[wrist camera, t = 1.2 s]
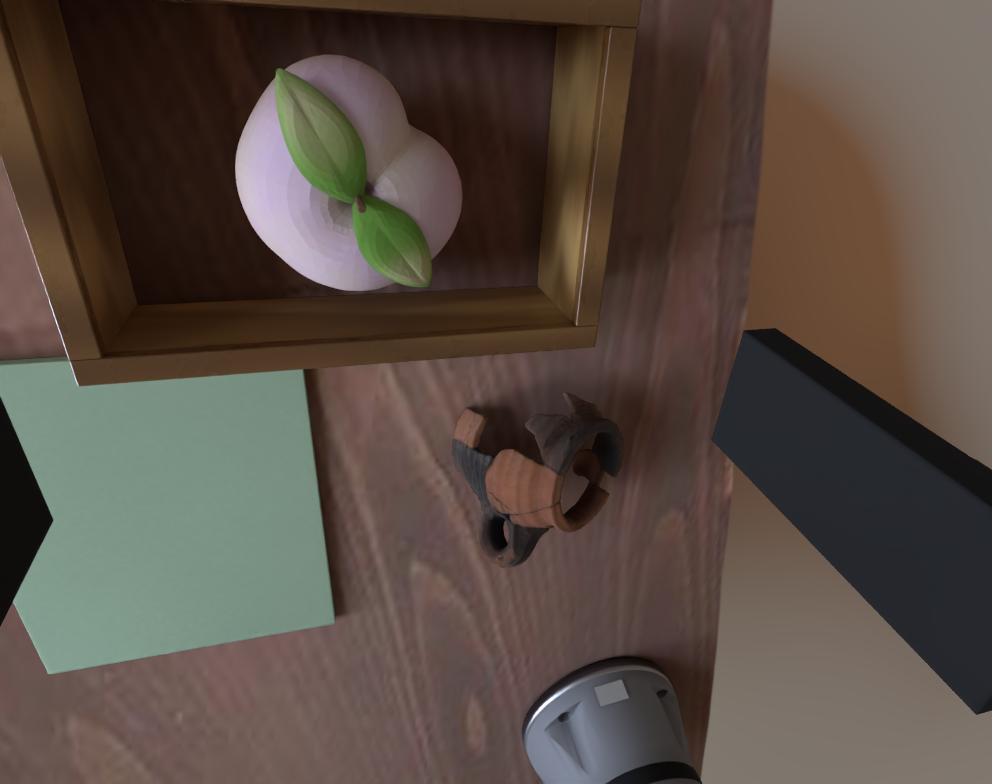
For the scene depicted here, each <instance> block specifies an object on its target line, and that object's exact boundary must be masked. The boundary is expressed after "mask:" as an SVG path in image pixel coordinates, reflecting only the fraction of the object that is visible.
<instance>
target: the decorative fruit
mask: <svg viewBox="0 0 992 784" xmlns="http://www.w3.org/2000/svg"><path fill="white" fill-rule="evenodd" d="M235 176H236V184H237V189H238V193H239V197H240V200H241V203H242V206H243V208H244V211H245V213H246V215H247V217H248V219H249V221H250V223H251V225H252V226H253V228H254V230H255V231H256V232H257V234H258V235H259V236H260V238H261V239H262V240H263V241H264V242H265V244H266V245H267V246H268V247H269V248H270V249H272V250H273V251H274V252H275V253H276V254H277V255H278V256H279V257H280V258H282V259H283V260H284V261H285V262H286V263H287V264H289V265H290V266H291V267H292V268H293V269H295V270H296V271H297V272H299V273H300V274H302V275H303V276H305V277H307V278H309V279H311V280H313V281H315V282H317V283H320V284H323V285H326V286H329V287H332V288H337V289H341V290H348V291H368V290H375V289H379V288H383V287H386V286H388V285H390V284H393V283H395V282H397V283H400V284H403V285H406V286H411V287H429V286H430V283H431V278H432V259H433V258H434V257H435V256H436V255H437V254H438V253H439V252H440V251H441V250H442V248H443V247H444V246H445V244H446V243H447V241H448V240H449V238H450V237H451V235H452V233H453V231H454V229H455V227H456V225H457V222H458V219H459V216H460V213H461V206H462V197H463V196H462V186H461V180H460V177H459V174H458V171H457V168H456V166H455V164H454V162H453V160H452V158H451V156H450V155H449V154H448V152H447V151H446V149H445V148H444V147H443V146H442V145H440V144H439V143H438V142H437V141H436V140H435V139H433V138H432V137H430V136H429V135H428V134H426V133H424V132H422V131H420V130H418V129H416V128H414V127H413V126H411V125H410V124H409V123H408V121H407V117H406V113H405V110H404V107H403V104H402V101H401V99H400V96H399V95H398V93H397V92H396V90H395V89H394V87H393V85H392V84H391V83H390V82H389V81H388V80H387V79H386V78H385V77H384V76H383V75H382V74H380V73H379V72H378V71H376V70H375V69H373V68H372V67H370V66H368V65H366V64H364V63H363V62H361V61H359V60H356V59H353V58H350V57H346V56H343V55H329V54H326V55H320V56H313V57H310V58H307V59H303V60H301V61H299V62H296V63H294V64H292V65H290V66H289V67H287V68H286V69H285V70H284V69H282V68H278V69H277V70H276V77H275V78H274V79H273V80H272V82H271V83H270V84H269V86H268V87H267V88H266V90H265V91H264V93H263V94H262V96H261V97H260V99H259V100H258V102H257V104H256V106H255V107H254V109H253V111H252V113H251V115H250V117H249V119H248V121H247V123H246V125H245V127H244V130H243V132H242V135H241V138H240V140H239V143H238V148H237V153H236V162H235Z"/></svg>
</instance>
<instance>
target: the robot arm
mask: <svg viewBox="0 0 992 784" xmlns="http://www.w3.org/2000/svg"><path fill="white" fill-rule="evenodd" d="M712 441H713V442H714V443H715V444H716V445H717V446H718V447H719V448H720V449H721V450H722V451H723V452H724V453H725V454H726V455H727V456H728V457H729V459H730V460H731V461H732V462H733V463H734V464H735V465H736V466H737V467H738V468H739V469H740V470H741V471H742V472H743V473H744V474H745V475H746V476H747V477H748V478H749V479H750V480H751V481H752V482H753V483H754V484H755V485H756V486H757V488H758V489H759V490H760V491H761V492H762V493H763V494H764V495H765V496H766V497H767V498H768V499H769V500H770V501H771V502H772V503H773V504H774V505H775V506H776V507H777V508H778V509H779V510H780V511H781V512H782V513H783V515H784V516H785V517H786V518H787V519H788V520H789V521H790V522H791V523H792V524H793V525H794V526H795V527H796V528H797V529H798V530H799V531H800V532H801V533H802V534H803V535H804V536H805V537H806V538H807V539H808V541H810V543H811V544H812V545H813V546H814V547H815V548H816V549H817V550H818V551H819V552H820V553H821V554H822V555H823V556H824V557H825V558H826V559H827V560H828V561H829V562H830V563H831V564H832V565H833V566H834V567H835V569H836V570H837V571H838V572H839V573H840V574H841V575H842V576H843V577H844V578H845V579H846V580H847V581H848V582H849V583H850V584H851V585H852V586H853V587H854V588H855V589H856V590H857V591H858V592H859V593H860V595H862V597H863V598H864V599H865V600H866V601H867V602H868V603H869V604H870V605H871V606H872V607H873V608H874V609H875V610H876V611H877V612H878V613H879V614H880V615H881V616H882V617H883V618H884V619H885V620H886V621H887V623H889V624H890V625H891V626H892V628H893V629H894V630H895V631H896V632H897V633H898V634H899V635H900V636H901V637H902V638H903V639H904V640H905V641H906V642H907V643H908V644H909V645H910V646H911V647H912V648H913V650H914V651H915V652H916V653H917V654H918V655H919V656H920V657H921V658H922V659H923V660H924V661H925V662H926V663H927V664H928V665H929V666H930V667H931V668H932V669H933V670H934V671H935V672H936V673H937V674H938V675H939V677H940V678H941V679H943V681H944V682H945V683H946V684H947V685H948V686H949V687H950V688H951V689H952V690H953V691H954V692H955V693H956V694H957V695H958V696H959V697H960V698H961V699H962V700H963V701H964V702H965V704H966V705H967V706H968V707H969V708H970V709H971V710H972V711H973V712H974V713H975V714H976V715H977V714H981V713H984V712H988V711H991V710H992V470H991V469H990V468H988V467H987V466H985V465H984V464H982V463H980V462H979V461H977V460H975V459H973V458H971V457H970V456H968V455H967V454H965V453H964V452H962V451H960V450H959V449H957V448H956V447H954V446H953V445H951V444H950V443H948V442H947V441H945V440H944V439H942V438H941V437H939V436H938V435H936V434H935V433H933V432H932V431H930V430H929V429H927V428H926V427H924V426H923V425H921V424H920V423H918V422H917V421H915V420H913V419H912V418H911V417H909V416H908V415H906V414H904V413H903V412H901V411H900V410H898V409H897V408H895V407H894V406H892V405H891V404H889V403H888V402H886V401H885V400H883V399H882V398H880V397H878V396H877V395H876V394H874V393H873V392H871V391H870V390H868V389H867V388H865V387H864V386H862V385H861V384H859V383H858V382H856V381H854V380H853V379H851V378H850V377H848V376H847V375H845V374H844V373H842V372H841V371H839V370H838V369H836V368H835V367H833V366H832V365H830V364H829V363H827V362H826V361H824V360H823V359H821V358H820V357H818V356H816V355H815V354H813V353H812V352H811V351H809V350H807V349H806V348H804V347H803V346H801V345H800V344H798V343H797V342H795V341H794V340H792V339H791V338H789V337H788V336H786V335H785V334H783V333H782V332H780V331H779V330H777V329H775V328H773V329H758V330H744V332H743V335H742V338H741V342H740V345H739V348H738V352H737V355H736V359H735V362H734V365H733V369H732V372H731V375H730V379H729V382H728V386H727V389H726V392H725V396H724V399H723V402H722V406H721V409H720V413H719V416H718V419H717V423H716V426H715V429H714V433H713V436H712ZM52 522H53V517H52V515H51V513H50V510H49V508H48V506H47V504H46V501H45V499H44V497H43V494H42V492H41V490H40V487H39V485H38V483H37V480H36V478H35V476H34V473H33V471H32V469H31V466H30V464H29V462H28V459H27V457H26V455H25V452H24V450H23V448H22V445H21V443H20V441H19V438H18V436H17V434H16V431H15V429H14V427H13V424H12V422H11V420H10V417H9V415H8V413H7V411H6V408H5V406H4V404H3V401H2V399H1V397H0V626H1V624H2V622H3V620H4V618H5V616H6V614H7V612H8V610H9V608H10V606H11V604H12V602H13V600H14V598H15V596H16V594H17V592H18V590H19V588H20V586H21V584H22V582H23V580H24V578H25V576H26V574H27V572H28V570H29V568H30V566H31V564H32V562H33V560H34V558H35V556H36V554H37V552H38V550H39V548H40V546H41V544H42V542H43V540H44V538H45V536H46V534H47V532H48V530H49V528H50V526H51V524H52ZM522 739H523V743H524V746H525V749H526V753H527V755H528V757H529V759H530V762H531V764H532V766H533V768H534V769H535V771H536V772H537V774H538V775H539V777H540V778H541V779H542V781H543V782H544V784H702V782H701V780H700V778H699V776H698V774H697V772H696V770H695V769H694V767H693V765H692V762H691V759H690V755H689V750H688V746H687V741H686V736H685V732H684V727H683V723H682V718H681V713H680V709H679V704H678V700H677V697H676V694H675V692H674V689H673V687H672V685H671V683H670V681H669V679H668V678H667V676H666V674H665V673H664V671H663V670H662V669H661V668H660V667H659V666H657V665H656V664H654V663H652V662H650V661H647V660H643V659H637V658H619V659H612V660H607V661H602V662H599V663H595V664H592V665H589V666H587V667H584V668H582V669H580V670H578V671H576V672H574V673H572V674H570V675H568V676H566V677H565V678H563V679H561V680H560V681H558V682H557V683H556V684H554V685H553V686H552V687H550V688H549V689H548V690H547V691H546V692H544V693H543V694H542V695H541V696H540V697H539V698H538V700H537V701H536V702H535V703H534V704H533V706H532V707H531V708H530V710H529V712H528V713H527V715H526V717H525V720H524V723H523V726H522Z"/></svg>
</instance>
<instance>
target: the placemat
mask: <svg viewBox="0 0 992 784" xmlns="http://www.w3.org/2000/svg"><path fill="white" fill-rule="evenodd" d="M0 397H1V399H2V401H3V404H4V406H5V408H6V411H7V413H8V415H9V417H10V420H11V422H12V424H13V427H14V429H15V431H16V434H17V436H18V438H19V441H20V443H21V445H22V448H23V450H24V452H25V455H26V457H27V459H28V462H29V464H30V466H31V469H32V471H33V473H34V476H35V478H36V480H37V483H38V485H39V487H40V490H41V492H42V494H43V497H44V499H45V501H46V504H47V506H48V508H49V510H50V513H51V515H52V517H53V522H52V524H51V526H50V528H49V530H48V532H47V534H46V536H45V538H44V540H43V542H42V544H41V546H40V548H39V550H38V552H37V554H36V556H35V558H34V560H33V562H32V564H31V566H30V568H29V570H28V572H27V574H26V576H25V578H24V580H23V582H22V584H21V586H20V588H19V590H18V592H17V594H16V596H15V598H14V600H13V603H14V605H15V607H16V609H17V611H18V613H19V615H20V617H21V619H22V621H23V623H24V625H25V627H26V629H27V631H28V633H29V635H30V637H31V639H32V641H33V643H34V645H35V647H36V649H37V651H38V653H39V655H40V658H41V660H42V662H43V664H44V666H45V668H46V670H47V672H48V674H54V673H60V672H66V671H71V670H77V669H83V668H88V667H94V666H99V665H105V664H111V663H116V662H122V661H128V660H133V659H139V658H144V657H150V656H156V655H161V654H167V653H172V652H178V651H184V650H189V649H195V648H201V647H206V646H212V645H217V644H223V643H229V642H234V641H240V640H246V639H251V638H257V637H262V636H268V635H274V634H279V633H285V632H291V631H296V630H302V629H307V628H313V627H319V626H324V625H330V624H335V622H336V621H335V611H334V603H333V595H332V587H331V579H330V571H329V563H328V555H327V547H326V539H325V531H324V523H323V516H322V508H321V500H320V492H319V484H318V476H317V468H316V460H315V452H314V444H313V436H312V428H311V420H310V412H309V404H308V397H307V389H306V381H305V373H304V369H300V370H287V371H274V372H261V373H248V374H235V375H222V376H209V377H196V378H183V379H170V380H157V381H144V382H131V383H118V384H104V385H91V386H78V385H77V382H76V379H75V376H74V373H73V371H72V368H71V365H70V360H69V359H68V356H64V357H49V358H34V359H19V360H3V361H0Z"/></svg>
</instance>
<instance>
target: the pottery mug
mask: <svg viewBox="0 0 992 784" xmlns="http://www.w3.org/2000/svg"><path fill="white" fill-rule="evenodd" d="M563 397H564V398H565V400H566V402H567V404H568V406H569V411H570V416H571V419H569V418H567V417H566V416H563V415H544V414H537V415H535V416H533V417H532V418H531V419H529V420H528V421H527V422H526V424H525V427H526V428H527V429H528V430H529V431H530V432H532V433H533V434H535V439H536V441H537V444H538V446H539V449H540V451H541V457H542V463H541V462H537V461H535V460H533V459H531V458H529V457H527V456H525V455H523V454H522V453H521V452H519V451H518V450H516V449H504V450H502V451H501V452H500V453H499V454H498V455H497V456H496V457H494V456H493V455H489V454H486V453H483V452H482V451H481V450H480V449H479V448H478V447H479V443H480V439H481V437H482V433H483V431H484V429H485V426H486V424H487V422H488V419H487V417H485V416H484V415H482V414H480V413H476V412H474V411H473V410H471V409H470V408H466V409H465V410H464V411H463V413H462V415H461V416H460V418H459V421H458V423H457V426H456V429H455V434H454V439H453V446H452V448H453V450H452V455H453V459H454V463H455V466H456V468H457V469H458V471H459V472H460V473H461V474H462V475H463V476H464V477H465V479H466V480H467V482H468V483H469V484H470V486H471V488H472V490H473V492H474V493H475V494H477V496H478V499H479V500H480V505H481V510H480V519H479V540H480V545H481V548H482V550H483V552H484V554H485V555H486V557H487V558H488V559H489V560H490V561H491V563H493V564H497V565H498V566H499V567H502V568H508V567H513V566H517V565H520V564H522V563H523V562H524V561H525V560H527V558H528V557H529V556H530V554H531V553H532V551H533V549H534V547H535V545H536V544H537V542H538V540H539V538H540V537H541V536H542V535H543V534H544V533H545V532H547V531H548V530H549V528H553V527H554V526H555V527H556V528H557V529H558V530H561V531H563V532H573V531H576V530H578V529H581V528H582V527H583V526H585V525H586V524H588V523H589V522H590V521H591V520H592V519H593V518H594V516H595V515H597V513H598V512H599V511H600V509H601V508H602V506H603V505H604V504H605V502H606V500H607V498H608V496H609V493H608V492H606V491H605V490H604V489H601V488H600V487H599V485H600V482H601V480H602V478H603V474H604V471H606V472H607V473H608V474H609V475H611V476H612V477H616V476H617V473H618V472H619V470H620V467H621V462H622V458H623V438H622V435H621V432H620V431H619V428H618V426H617V424H615V423H614V422H613V421H611V420H609V419H606V418H603V416H602V414H601V412H600V411H599V409H598V408H597V406H596V405H594V404H593V403H590V402H586V401H584V400H582V399H580V398H578V397H577V396H575V395H572V394H570V393H567V392H565V393H564V394H563ZM595 434H597V436H596V439H595V441H594V445H593V447H592V450H591V449H585V450H579V449H580V448H581V447H582V446H583V444H584V443H585V442H586V441H587V440H588V439H589V438H591V437H592V436H593V435H595ZM574 457H575V458H574ZM573 458H574V464H573V471H574V473H575V474H577V475H578V476H583V477H585V478H587V479H588V480H589V481H590V482H589V483H588V485H587V488H586V489H585V491H584V492H583V494H582V496H581V497H580V499H579V501H578V502H577V503H576V504H575V505H574V506H573V507H572V508H570V509H569V510H568V511H567V512H566V513H565V514H564V515H563V513H562V510H561V504H560V499H561V491H562V486H563V481H564V478H565V473H566V472H567V470H568V468H569V466H570V464H571V462H572V460H573ZM505 520H506V522H507V524H508V527H509V533H510V535H509V542H508V543H507V541H506V539H505V536H504V530H503V525H504V522H505Z"/></svg>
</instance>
